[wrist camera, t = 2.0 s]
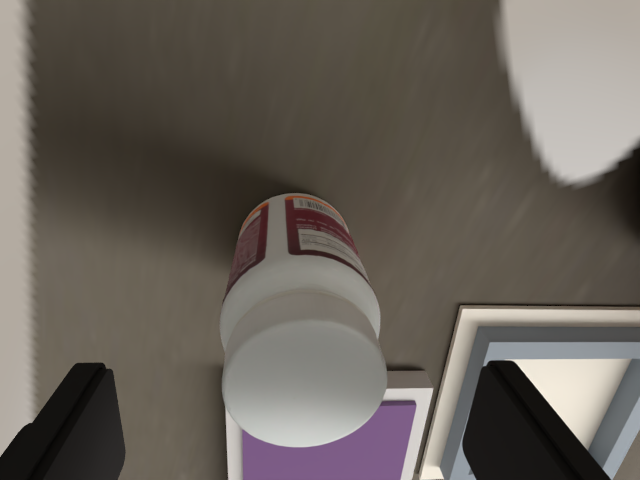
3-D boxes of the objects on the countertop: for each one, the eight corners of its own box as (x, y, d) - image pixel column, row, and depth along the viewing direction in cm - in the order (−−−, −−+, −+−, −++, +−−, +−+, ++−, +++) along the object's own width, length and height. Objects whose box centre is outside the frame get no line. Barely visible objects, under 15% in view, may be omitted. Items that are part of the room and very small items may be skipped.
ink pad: (228, 372, 20) (224, 395, 18) (425, 370, 21) (435, 392, 19) (232, 504, 24) (229, 531, 22) (397, 497, 25) (404, 523, 23)
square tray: (460, 305, 19) (473, 324, 18) (685, 307, 20) (714, 324, 19) (418, 474, 24) (426, 499, 23) (602, 467, 25) (621, 491, 24)
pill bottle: (263, 305, 18) (251, 480, 11) (220, 212, 16) (166, 347, 9) (363, 272, 18) (422, 428, 10) (331, 173, 16) (375, 278, 8)
